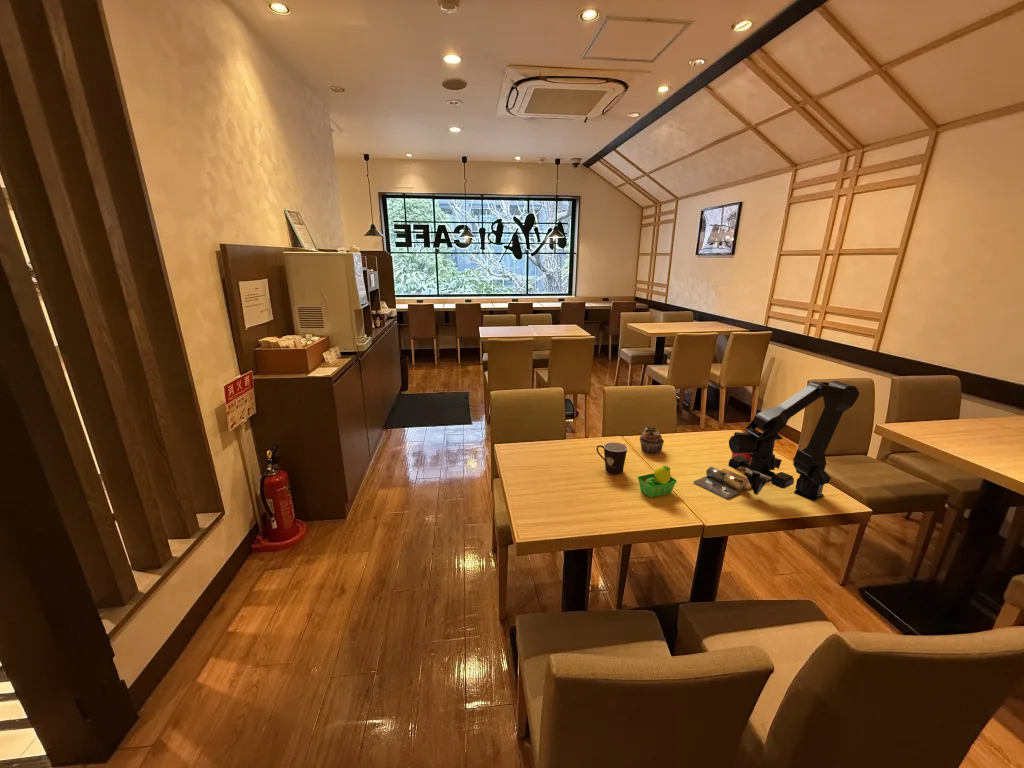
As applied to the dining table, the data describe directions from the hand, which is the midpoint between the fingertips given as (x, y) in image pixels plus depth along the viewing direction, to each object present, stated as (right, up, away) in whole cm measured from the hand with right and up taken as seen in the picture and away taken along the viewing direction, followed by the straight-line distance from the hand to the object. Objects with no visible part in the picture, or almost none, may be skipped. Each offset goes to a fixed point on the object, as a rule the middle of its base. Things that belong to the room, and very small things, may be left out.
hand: (756, 494), depth 142 cm
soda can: (+6, +5, +22) cm, 23 cm away
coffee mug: (-43, +4, +21) cm, 48 cm away
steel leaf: (-9, +1, +8) cm, 12 cm away
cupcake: (-23, +9, +37) cm, 45 cm away
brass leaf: (-3, +2, +11) cm, 11 cm away
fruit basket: (-32, -1, +5) cm, 32 cm away
